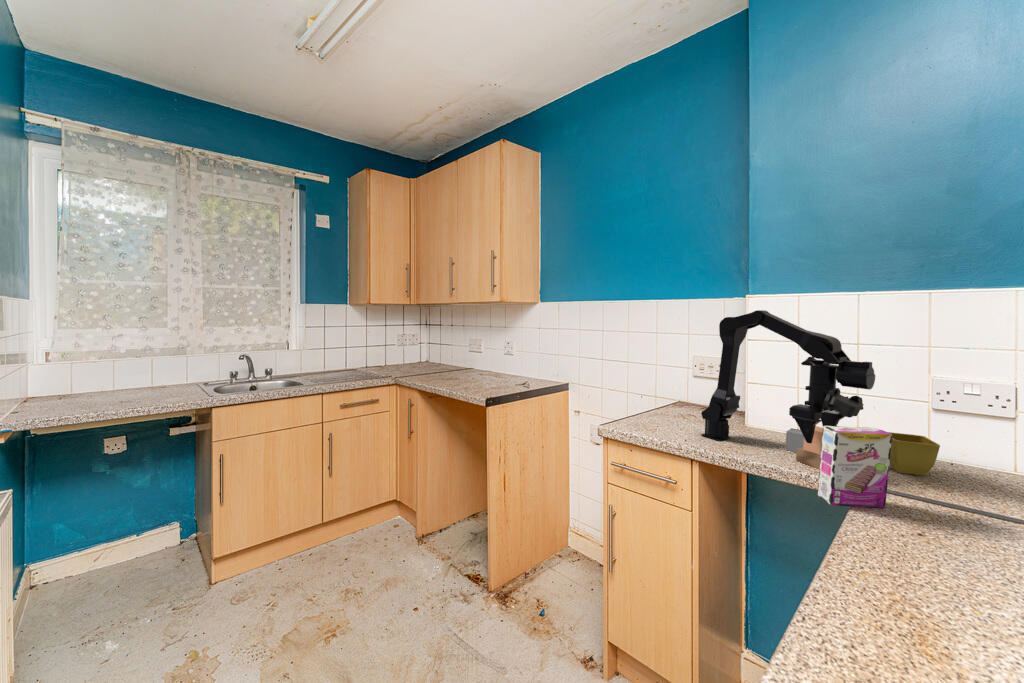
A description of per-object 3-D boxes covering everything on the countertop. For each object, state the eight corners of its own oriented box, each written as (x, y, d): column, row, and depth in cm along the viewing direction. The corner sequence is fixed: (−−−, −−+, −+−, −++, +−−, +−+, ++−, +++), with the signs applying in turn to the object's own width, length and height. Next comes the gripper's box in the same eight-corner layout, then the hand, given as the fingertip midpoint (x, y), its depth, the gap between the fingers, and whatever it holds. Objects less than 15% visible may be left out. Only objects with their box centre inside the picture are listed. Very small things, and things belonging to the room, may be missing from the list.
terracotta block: (803, 449, 114) (804, 428, 114) (813, 447, 117) (814, 425, 116) (823, 455, 110) (825, 433, 109) (833, 452, 112) (835, 430, 112)
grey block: (785, 451, 125) (786, 431, 124) (790, 447, 128) (791, 428, 128) (805, 455, 121) (806, 435, 121) (810, 451, 125) (811, 431, 124)
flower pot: (921, 468, 111) (924, 435, 111) (938, 480, 103) (941, 445, 103) (879, 463, 115) (881, 431, 114) (892, 474, 107) (894, 440, 106)
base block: (795, 462, 116) (796, 448, 116) (814, 460, 118) (815, 446, 118) (820, 472, 109) (821, 457, 109) (840, 469, 111) (841, 454, 111)
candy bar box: (831, 506, 89) (836, 431, 88) (816, 496, 94) (820, 425, 93) (888, 509, 88) (893, 433, 87) (870, 498, 93) (875, 426, 92)
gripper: (837, 391, 101) (833, 455, 102) (876, 385, 109) (872, 444, 110) (789, 384, 110) (786, 442, 112) (828, 379, 119) (825, 433, 120)
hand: (818, 440), depth 113 cm, fingers open, 9 cm apart
